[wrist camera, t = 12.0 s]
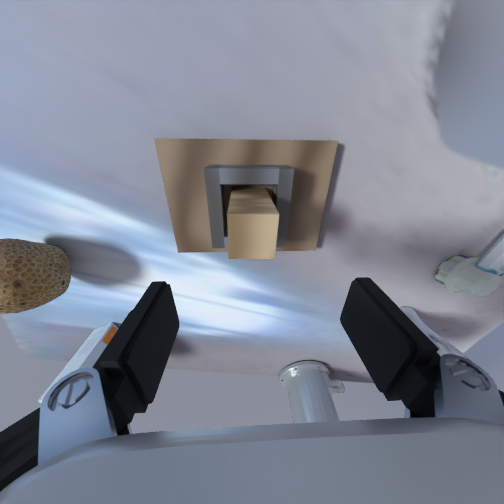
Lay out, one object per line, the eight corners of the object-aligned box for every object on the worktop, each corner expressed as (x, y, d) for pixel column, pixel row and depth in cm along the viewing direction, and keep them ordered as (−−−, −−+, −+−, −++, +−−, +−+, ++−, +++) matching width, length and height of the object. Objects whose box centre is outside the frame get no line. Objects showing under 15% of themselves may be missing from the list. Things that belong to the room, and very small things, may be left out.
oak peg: (264, 187, 23) (279, 214, 15) (263, 218, 25) (274, 258, 17) (232, 186, 23) (227, 213, 14) (232, 218, 25) (228, 258, 16)
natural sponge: (93, 285, 31) (36, 339, 22) (28, 271, 29) (-61, 325, 21) (90, 237, 27) (20, 282, 18) (15, 218, 25) (-103, 257, 16)
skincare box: (134, 339, 38) (95, 412, 28) (117, 345, 39) (72, 418, 29) (112, 320, 35) (59, 394, 25) (94, 327, 36) (35, 402, 26)
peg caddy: (332, 140, 22) (354, 140, 18) (312, 245, 29) (324, 263, 25) (159, 138, 21) (138, 137, 17) (181, 247, 28) (170, 266, 24)
